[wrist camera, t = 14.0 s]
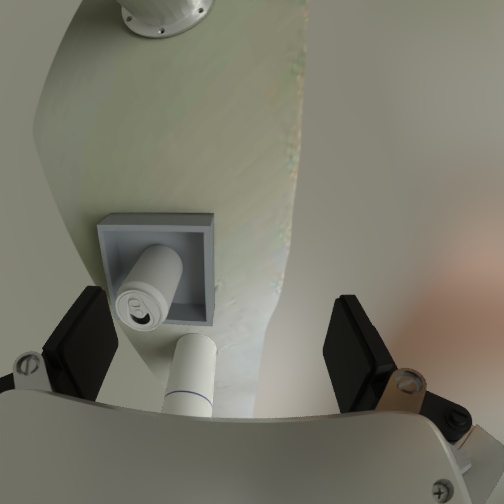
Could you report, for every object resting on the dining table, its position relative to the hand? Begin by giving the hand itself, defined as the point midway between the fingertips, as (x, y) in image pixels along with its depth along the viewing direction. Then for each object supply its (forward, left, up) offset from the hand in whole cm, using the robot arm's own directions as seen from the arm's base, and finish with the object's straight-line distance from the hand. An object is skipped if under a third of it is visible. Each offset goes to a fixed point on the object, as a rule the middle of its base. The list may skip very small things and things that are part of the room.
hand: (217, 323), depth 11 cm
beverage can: (+12, -10, -28) cm, 32 cm away
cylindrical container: (+29, -6, -28) cm, 41 cm away
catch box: (+12, -10, -28) cm, 32 cm away
